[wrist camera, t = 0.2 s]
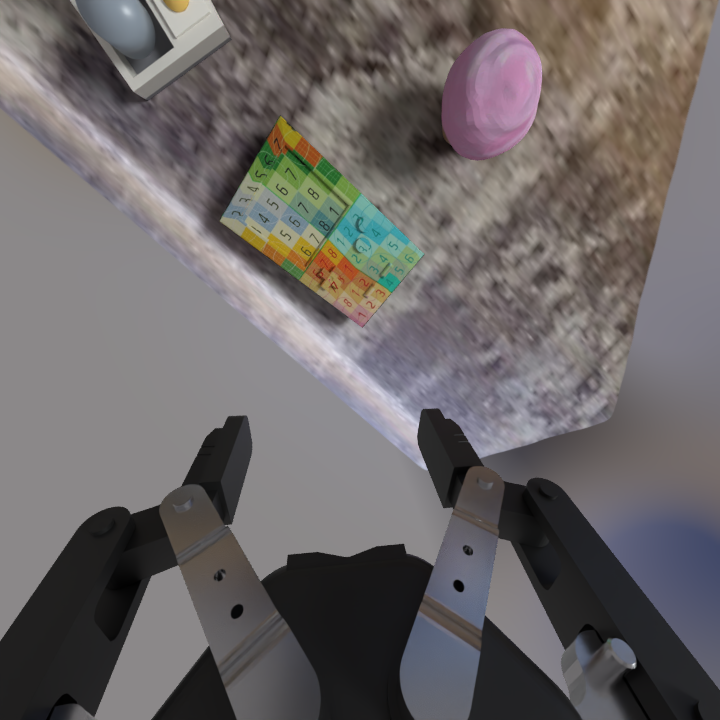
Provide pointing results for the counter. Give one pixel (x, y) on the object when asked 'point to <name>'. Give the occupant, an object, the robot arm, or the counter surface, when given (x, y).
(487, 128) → the cupcake
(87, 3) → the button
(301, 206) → the puzzle game
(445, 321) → the counter surface
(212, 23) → the button board
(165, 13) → the card
